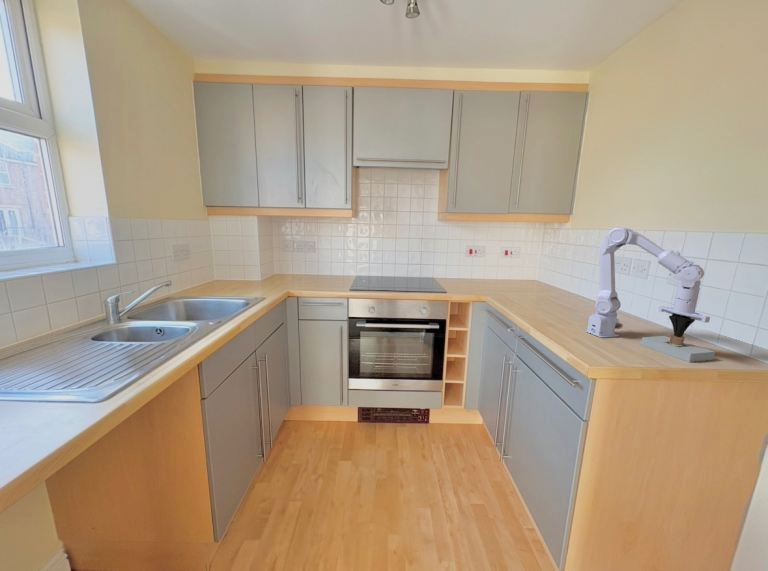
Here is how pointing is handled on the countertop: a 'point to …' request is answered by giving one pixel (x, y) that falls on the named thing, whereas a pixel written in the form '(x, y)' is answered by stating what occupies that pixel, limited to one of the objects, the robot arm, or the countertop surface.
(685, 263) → the robot arm
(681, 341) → the walnut peg
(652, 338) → the grey board
